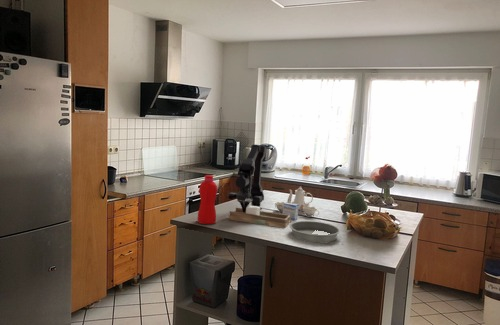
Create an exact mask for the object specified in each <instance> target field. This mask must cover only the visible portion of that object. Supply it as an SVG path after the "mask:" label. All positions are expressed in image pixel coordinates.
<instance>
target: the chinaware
mask: <svg viewBox="0 0 500 325" xmlns="http://www.w3.org/2000/svg"><path fill="white" fill-rule="evenodd" d="M288 191H289V195H288V198H287V201H286V202H287V203H293V204H298V205H299V208H298V215H299V214H301V215H303V214H304V215H305V216H306V217H307V218H312V216H313V217H315V216H316V214H315V213H316V212H318V213H317V215H319V214H320V211H319V210H318V208H316V207H315V206H310V204H311V203H312V202H313V200H314V198H313V195H312V194H311V193H310V192H306V191H305V190H304V189H303V188H302V186H299V187H298V188H297V189H295V190H294V191H295V192H294V194H295V195H294V199H293V201H292V198H293V190H292V189H288ZM308 195H309V196H311V200H310V201H309V202H306V200H305V197H307V196H308ZM286 202H284V201H281V202H279V201H276V202H275V203H274V208H276V210H278V213H281V214H283V205H284V203H286Z"/></svg>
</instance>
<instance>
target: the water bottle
mask: <svg viewBox="0 0 500 325" xmlns="http://www.w3.org/2000/svg"><path fill="white" fill-rule="evenodd" d="M198 192H199V197H200V204H199V208H198V211H197V212H198V213H197V222H198V223H199V224H202V225H213V224H215V223H216V221H217V213H216V212H217V211H216V207H215V206H216V205H215V204H216V199H217V194H218V185H217V183H215V182H214V175H210V174H206V175H204V181H202V182H201V183H200V185H199V189H198Z"/></svg>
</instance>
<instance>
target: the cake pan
mask: <svg viewBox="0 0 500 325" xmlns="http://www.w3.org/2000/svg"><path fill="white" fill-rule="evenodd" d="M289 228H290V230H291V232H292V236H293V235H294V236H295V237H294V236H293V237H294V238H296V239H298V238H299V239H298V240H301V241H304V240H305V241H306V242H309V243H316V242H327V243H332V242H334V240H335V239H337V237H338V234H340V232H341V230H340V228H339V227H337V226H335V225H333V224H329V223H325V222H321V221H313V220H312V221H311V220H303V221H295V222H292V223H289ZM315 230H316V231H317V230H318V231H324V232H327V233H330V234H328V235H318V234H312V233H313V232H314V231H315ZM331 241H332V242H331ZM335 241H336V240H335Z"/></svg>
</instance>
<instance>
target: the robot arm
mask: <svg viewBox="0 0 500 325" xmlns="http://www.w3.org/2000/svg"><path fill="white" fill-rule="evenodd" d="M267 152H268V150H267V147H266V146H265V145H262V144H261V145H260V144H256V143H255V144H254V143H253V144H251V146H250V150H249V152H248V155H247V156H246V158H245V159H244V160H242V162H241V163H240V165H239V167H238V168H239V169H238V172H237V175H238V176H239V177H237V178H236V180H235V185H236V186H237V188H239V190H238V192H233V191H232V192H229V193H228V194H227V199H228V200H234V199H236V200H237V202H239V204H240V208H242V210H243V213H245V211H246V207H248V206H257V207H260V211H262V207H261V203H262V202H263V201H264V200H265V194H264V191H263V186H262V183H261V178H262V168H263V159H264V158H265V157H266V153H267ZM252 176H253V177H252ZM250 203H251V204H250Z"/></svg>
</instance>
